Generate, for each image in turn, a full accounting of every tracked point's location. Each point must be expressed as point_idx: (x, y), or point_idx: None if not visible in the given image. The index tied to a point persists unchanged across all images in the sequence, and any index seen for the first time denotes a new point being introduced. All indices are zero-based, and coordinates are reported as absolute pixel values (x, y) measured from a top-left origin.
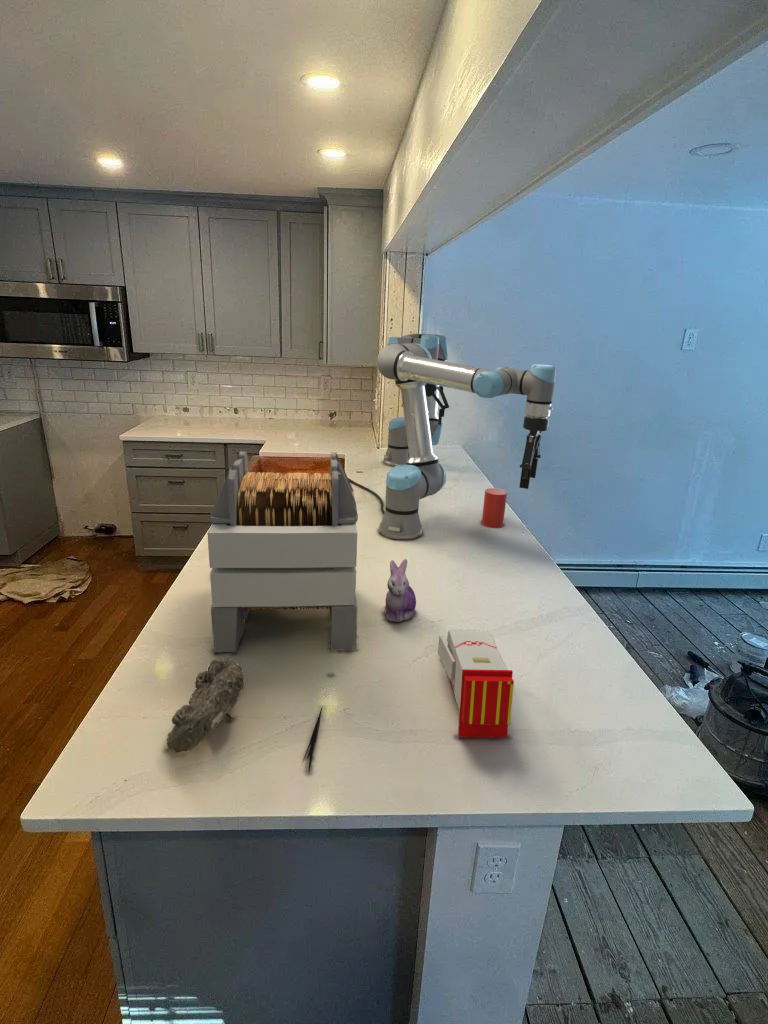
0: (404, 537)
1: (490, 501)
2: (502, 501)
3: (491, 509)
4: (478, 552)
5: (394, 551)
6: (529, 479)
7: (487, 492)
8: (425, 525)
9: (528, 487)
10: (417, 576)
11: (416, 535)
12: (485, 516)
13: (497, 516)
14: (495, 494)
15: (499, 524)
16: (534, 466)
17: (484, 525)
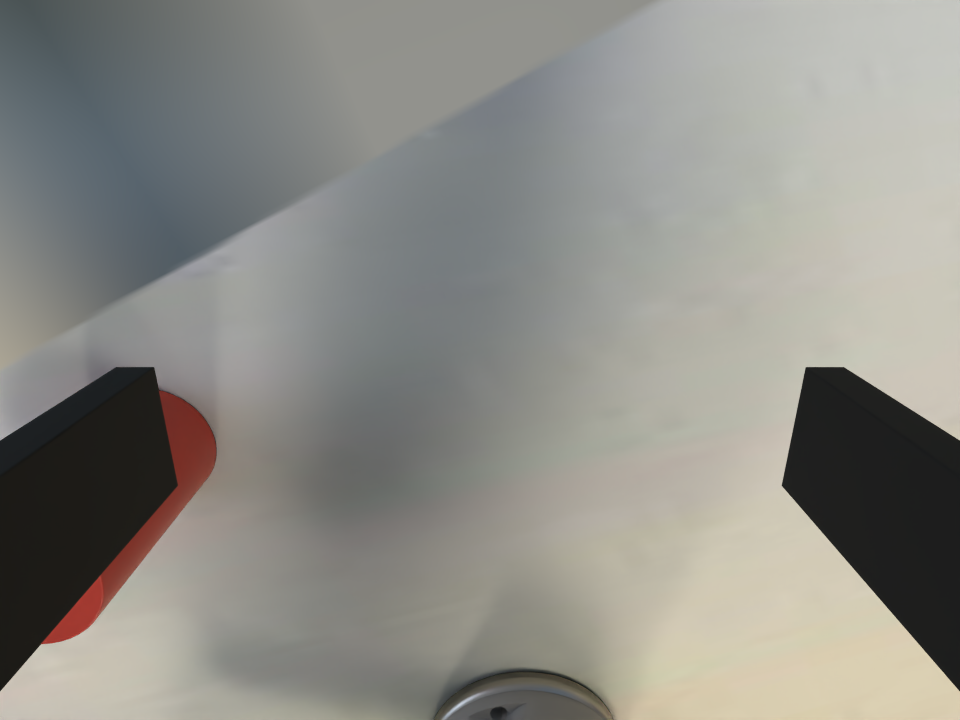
0: (608, 717)
1: (136, 552)
2: None
3: (164, 507)
4: (594, 418)
5: (730, 700)
6: (952, 440)
7: (92, 621)
8: (385, 687)
9: (826, 373)
10: None
11: (564, 689)
12: (186, 503)
13: None
14: None
15: (175, 408)
16: (23, 511)
17: (210, 472)
